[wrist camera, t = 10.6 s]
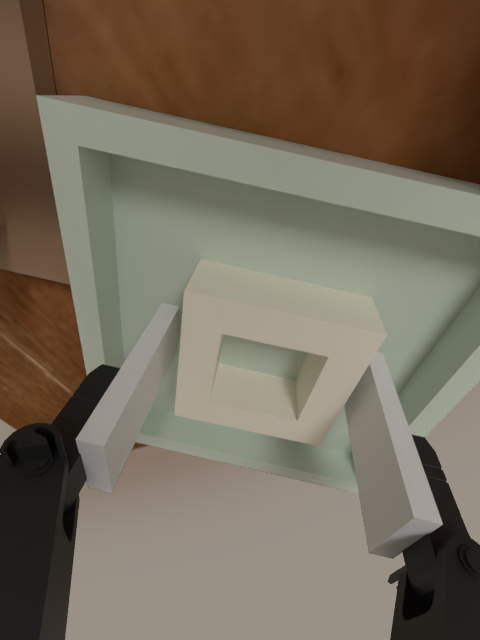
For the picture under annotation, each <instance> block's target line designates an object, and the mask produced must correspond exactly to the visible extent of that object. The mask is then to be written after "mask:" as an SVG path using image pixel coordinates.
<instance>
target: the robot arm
mask: <svg viewBox="0 0 480 640" xmlns="http://www.w3.org/2000/svg"><path fill="white" fill-rule="evenodd" d="M178 318H179V306H174V305H170V304H166V303H162V304H161V305H160V307H159V308H158V310H157V312H156V313H155V315H154V316H153V318H152V319H151V321H150V323H149V324H148V326H147V327H146V329H145V331H144V332H143V334H142V335H141V337H140V338H139V340H138V342H137V343H136V345H135V346H134V348H133V349H132V351H131V353H130V354H129V356H128V357H127V359H126V361H125V362H124V364H123V365H122V367H121V368H117V367H113V366H108V365H104V364H102V365H100V366H99V367H97V368H96V369H94V370H93V371H91V372H90V373H89V374H88V375H87V377H86V378H85V379H84V381H83V382H82V383H81V385H80V387H78V389H77V390H76V391H75V393H74V394H73V397H71V398H70V400H69V401H68V402H67V404H66V405H65V406H64V408H63V409H62V410H61V412H60V413H59V415H58V416H57V417H56V419H55V420H54V421H53V423H52V424H51V425H50V424H47V423H35V424H31V425H27V426H24V427H22V428H21V429H19V430H17V431H15V432H13V433H12V434H11V435H10V436H9V437H8V438H7V439H6V440H5V441H4V443H3V445H2V446H1V448H0V453H1V455H0V640H65V632H66V624H67V614H68V604H69V595H70V594H69V593H70V586H71V575H72V566H73V557H74V548H75V537H76V528H77V518H78V509H79V492H80V490H81V488H82V487H83V485H84V483H85V481H86V482H87V485H88V488H91V489H96V490H100V491H104V492H108V493H112V492H113V490H114V487H115V485H116V483H117V481H118V479H119V476H120V474H121V472H122V469H123V468H124V465H125V463H126V461H127V459H128V457H129V454H130V452H131V450H132V448H133V446H134V444H135V441H136V439H137V437H138V435H139V433H140V430H141V428H142V426H143V424H144V422H145V419H146V417H147V415H148V413H149V411H150V408H151V406H152V404H153V402H154V400H155V397H156V395H157V393H158V391H159V389H160V387H161V384H162V382H163V380H164V378H165V376H166V373H167V371H168V369H169V367H170V365H171V362H172V360H173V358H174V356H175V354H176V346H177V332H178ZM344 407H345V413H346V419H347V425H348V431H349V437H350V443H351V449H352V455H353V461H354V467H355V473H356V479H357V485H358V491H359V497H360V503H361V509H362V515H363V521H364V527H365V533H366V539H367V545H368V551H369V553H371V554H376V555H380V556H384V557H388V558H394V557H396V556H397V555H398V554H400V553H401V552H403V556H404V561H405V566H403V567H402V568H400V569H398V570H397V571H395V572H394V573H392V574H391V575H390V577H389V580H388V582H389V583H390V584H392V583H394V582H396V581H398V580H399V581H398V586H397V596H396V603H395V610H394V618H393V624H392V632H391V639H390V640H480V545H479V544H478V543H477V542H475V541H474V540H473V539H471V538H470V536H469V534H468V532H467V529H466V527H465V524H464V522H463V519H462V517H461V515H460V512H459V509H458V507H457V504H456V502H455V500H454V497H453V495H452V492H451V489H450V487H449V484H448V483H446V477H445V475H444V472H443V471H442V470H441V465H440V462H439V460H438V457H437V455H436V452H435V451H434V449H433V448H432V447H431V446H430V444H429V443H428V441H427V440H426V439H425V437H421V436H416V435H412V434H411V432H410V429H409V426H408V423H407V420H406V417H405V415H404V412H403V409H402V406H401V403H400V400H399V398H398V395H397V392H396V389H395V386H394V383H393V380H392V378H391V375H390V372H389V369H388V366H387V363H386V361H385V358H384V355H383V353H380V352H377V353H376V354H375V356H374V358H373V359H372V361H371V362H370V364H369V366H368V367H367V369H366V371H365V372H364V374H363V376H362V377H361V379H360V380H359V382H358V384H357V385H356V387H355V389H354V390H353V392H352V393H351V395H350V397H349V398H348V400H347V402H346V403H345V405H344Z"/></svg>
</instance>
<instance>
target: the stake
mask: <svg viewBox="0 0 480 640" xmlns="http://www.w3.org/2000/svg"><path fill="white" fill-rule="evenodd" d="M36 95H56V90H55V83H54V76H53V70H52V63H51V56H50V50H49V43H48V36H47V29H46V23H45V16H44V9H43V2H42V0H0V269H3V270H7V271H12V272H16V273H21V274H25V275H29V276H34V277H38V278H42V279H47V280H51V281H56V282H60V283H64V284H69V285H70V280H69V274H68V269H67V263H66V258H65V252H64V247H63V241H62V236H61V230H60V225H59V219H58V214H57V208H56V203H55V197H54V191H53V186H52V180H51V175H50V169H49V164H48V158H47V153H46V147H45V142H44V136H43V131H42V125H41V120H40V114H39V108H38V103H37V97H36Z"/></svg>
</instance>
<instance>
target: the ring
mask: <svg viewBox="0 0 480 640" xmlns="http://www.w3.org/2000/svg"><path fill="white" fill-rule="evenodd" d="M224 334H225V335H229V336H234V337H239V338H243V339H248V340H252V341H257V342H261V343H266V344H271V345H275V346H280V347H284V348H289V349H294V350H298V351H303V352H307V353H308V354H307V356H306V358H305V361H304V363H303V365H302V368H301V370H300V372H299V375H298V377H297V379H296V381H295V380H291V379H286V378H282V377H278V376H273V375H269V374H264V373H260V372H256V371H251V370H247V369H243V368H238V367H234V366H230V365H225V364H221V363H219V360H220V355H221V350H222V344H223V339H224ZM386 336H387V333H386V331H385V328H384V326H383V323H382V321H381V319H380V316H379V314H378V311H377V309H376V307H375V304H374V302H373V300H372V298H371V297H367V296H362V295H358V294H354V293H349V292H345V291H340V290H336V289H332V288H327V287H323V286H318V285H314V284H310V283H305V282H301V281H297V280H292V279H288V278H283V277H279V276H275V275H270V274H266V273H261V272H257V271H253V270H248V269H244V268H239V267H235V266H231V265H226V264H222V263H217V262H213V261H209V260H204V259H201V260H200V261H199V263H198V265H197V267H196V269H195V271H194V273H193V275H192V277H191V279H190V281H189V282H188V284H187V286H186V288H185V290H184V300H183V312H182V325H181V337H180V350H179V362H178V375H177V388H176V400H175V413H174V415H176V416H181V417H185V418H190V419H195V420H199V421H204V422H208V423H213V424H218V425H222V426H227V427H232V428H236V429H241V430H246V431H250V432H255V433H260V434H264V435H269V436H273V437H278V438H283V439H287V440H292V441H297V442H301V443H306V444H311V445H315V446H320V444H321V442H322V441H323V439H324V437H325V436H326V434H327V433H328V431H329V429H330V428H331V426H332V424H333V423H334V421H335V420H336V418H337V416H338V415H339V413H340V411H341V410H342V408H343V406H344V405H345V403H346V402H347V400H348V398H349V397H350V395H351V393H352V392H353V390H354V389H355V387H356V385H357V384H358V382H359V380H360V379H361V377H362V376H363V374H364V372H365V371H366V369H367V367H368V366H369V364H370V362H371V361H372V359H373V358H374V356H375V354H376V353H377V351H378V349H379V348H380V346H381V345H382V343H383V341H384V340H385V338H386Z"/></svg>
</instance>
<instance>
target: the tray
mask: <svg viewBox="0 0 480 640" xmlns="http://www.w3.org/2000/svg"><path fill="white" fill-rule="evenodd" d="M36 97H37V103H38V108H39V114H40V120H41V125H42V131H43V136H44V142H45V147H46V153H47V158H48V164H49V169H50V175H51V180H52V186H53V191H54V197H55V203H56V208H57V214H58V219H59V225H60V230H61V236H62V241H63V247H64V252H65V258H66V263H67V269H68V274H69V280H70V286H71V291H72V297H73V302H74V308H75V313H76V319H77V324H78V330H79V335H80V341H81V346H82V352H83V357H84V363H85V368H86V374H87V375H88V374H89V373H90V372H91V371H93V370H94V369H96V368H97V367H99V366H100V365H102V364H104V365H108V366H113V367H117V368H121V367H122V365H123V364H124V362H125V361H126V359H127V357H128V356H129V354H130V353H131V351H132V349H133V348H134V346H135V345H136V343H137V342H138V340H139V338H140V337H141V335H142V334H143V332H144V331H145V329H146V327H147V326H148V324H149V323H150V321H151V319H152V318H153V316H154V315H155V313H156V312H157V310H158V308H159V307H160V305H161V304H162V303H166V304H170V305H174V306H179V318H178V332H177V346H176V354H175V356H174V358H173V360H172V362H171V365H170V367H169V369H168V371H167V373H166V376H165V378H164V380H163V382H162V384H161V387H160V389H159V391H158V393H157V395H156V397H155V400H154V402H153V404H152V406H151V408H150V411H149V413H148V415H147V417H146V419H145V422H144V424H143V426H142V428H141V430H140V433H139V435H138V437H137V439H136V441H135V442H137V443H141V444H145V445H150V446H154V447H158V448H163V449H167V450H171V451H176V452H180V453H185V454H189V455H193V456H197V457H202V458H206V459H210V460H215V461H219V462H223V463H228V464H232V465H236V466H240V467H245V468H249V469H254V470H258V471H262V472H267V473H271V474H276V475H280V476H284V477H288V478H292V479H297V480H301V481H306V482H310V483H314V484H318V485H323V486H328V487H331V488H336V489H340V490H344V491H349V492H353V493H357V494H359V491H358V485H357V479H356V473H355V467H354V461H353V455H352V449H351V443H350V437H349V431H348V425H347V419H346V413H345V407H344V406H343V408H342V410H341V411H340V413H339V415H338V416H337V418H336V420H335V421H334V423H333V424H332V426H331V428H330V429H329V431H328V433H327V434H326V436H325V437H324V439H323V441H322V442H321V444H320V446H315V445H311V444H306V443H301V442H297V441H292V440H287V439H283V438H278V437H273V436H269V435H264V434H260V433H255V432H250V431H246V430H241V429H236V428H232V427H227V426H222V425H218V424H213V423H208V422H204V421H199V420H195V419H190V418H185V417H181V416H176V415H174V413H175V400H176V388H177V375H178V362H179V350H180V337H181V325H182V312H183V300H184V290H185V288H186V286H187V284H188V282H189V281H190V279H191V277H192V275H193V273H194V271H195V269H196V267H197V265H198V263H199V261H200V260H201V259H204V260H209V261H213V262H217V263H222V264H226V265H231V266H235V267H239V268H244V269H248V270H253V271H257V272H261V273H266V274H270V275H275V276H279V277H283V278H288V279H292V280H297V281H301V282H305V283H310V284H314V285H318V286H323V287H327V288H332V289H336V290H340V291H345V292H349V293H354V294H358V295H362V296H367V297H371V298H372V300H373V302H374V304H375V307H376V309H377V311H378V314H379V316H380V319H381V321H382V323H383V326H384V328H385V331H386V333H387V336H386V338H385V340H384V341H383V343H382V345H381V346H380V348H379V349H378V351H377V352H380V353H383V355H384V358H385V361H386V363H387V366H388V369H389V372H390V375H391V378H392V380H393V383H394V386H395V389H396V392H397V395H398V398H399V400H400V403H401V406H402V409H403V412H404V415H405V417H406V420H407V423H408V426H409V429H410V432H411V434H412V435H416V436H421V437H426V436H427V435H428V434H429V433H430V432H431V431H432V429H433V428H434V427H435V426H436V425H437V424H438V423H439V422H440V421H441V420H442V419H443V418H444V417H445V416H446V415H447V414H448V413H449V412H450V411H451V410H452V409H453V408H454V407H455V406H456V404H458V403H459V401H460V400H461V399H462V398H463V397H464V396H465V395H466V394H467V393H468V392H469V391H470V390H471V389H472V388H473V387H474V386H475V385H476V384H477V383H478V382H479V381H480V184H475V183H471V182H467V181H462V180H458V179H453V178H449V177H444V176H440V175H436V174H431V173H427V172H422V171H418V170H413V169H409V168H404V167H400V166H396V165H391V164H387V163H382V162H378V161H373V160H369V159H364V158H360V157H356V156H351V155H347V154H342V153H338V152H333V151H329V150H325V149H320V148H316V147H311V146H307V145H302V144H298V143H293V142H289V141H285V140H280V139H276V138H271V137H267V136H262V135H258V134H253V133H249V132H245V131H240V130H236V129H231V128H227V127H222V126H218V125H214V124H209V123H205V122H200V121H196V120H191V119H187V118H182V117H178V116H174V115H169V114H165V113H160V112H156V111H151V110H147V109H143V108H138V107H134V106H129V105H125V104H120V103H116V102H111V101H107V100H103V99H98V98H94V97H89V96H78V95H36ZM307 354H308V353H307V352H303V351H298V350H294V349H289V348H284V347H280V346H275V345H271V344H266V343H261V342H257V341H252V340H248V339H243V338H239V337H234V336H229V335H225V334H224V339H223V344H222V350H221V355H220V360H219V363H221V364H225V365H230V366H234V367H238V368H243V369H247V370H251V371H256V372H260V373H264V374H269V375H273V376H278V377H282V378H286V379H291V380H295V381H296V379H297V377H298V375H299V372H300V370H301V368H302V365H303V363H304V361H305V358H306V356H307Z"/></svg>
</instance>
